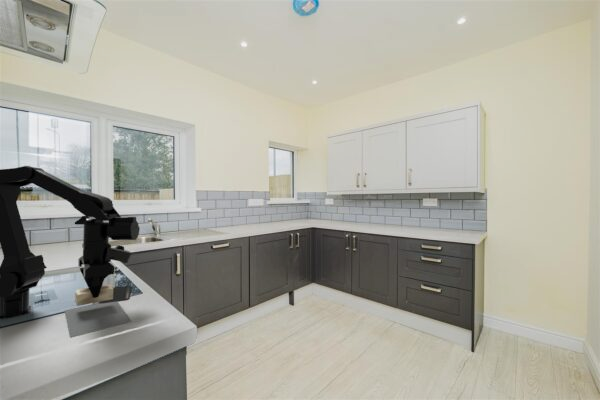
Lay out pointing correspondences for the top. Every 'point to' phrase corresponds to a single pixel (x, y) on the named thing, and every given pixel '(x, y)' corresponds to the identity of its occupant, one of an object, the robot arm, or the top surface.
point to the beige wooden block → (86, 297)
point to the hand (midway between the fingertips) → (94, 294)
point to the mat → (95, 318)
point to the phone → (119, 294)
